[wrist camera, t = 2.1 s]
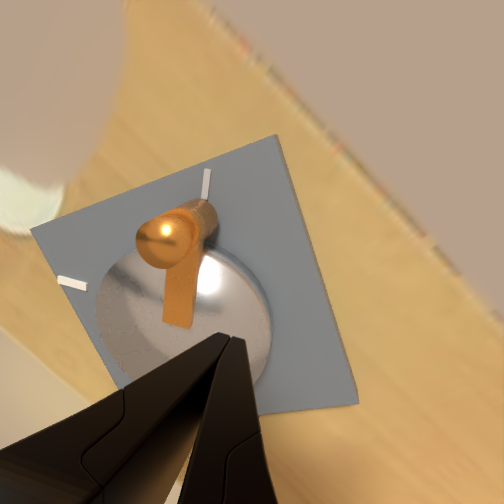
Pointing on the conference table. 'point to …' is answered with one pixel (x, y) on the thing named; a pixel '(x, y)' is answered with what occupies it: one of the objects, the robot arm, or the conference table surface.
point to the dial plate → (240, 245)
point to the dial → (180, 295)
